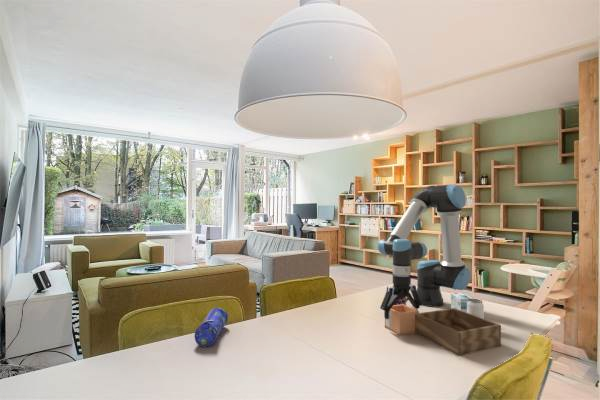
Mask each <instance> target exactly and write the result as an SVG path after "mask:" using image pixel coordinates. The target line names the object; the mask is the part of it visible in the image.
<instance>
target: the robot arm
mask: <svg viewBox="0 0 600 400" xmlns="http://www.w3.org/2000/svg"><path fill="white" fill-rule="evenodd" d="M466 200H467V198H466V194H465V191H464V189H463V188H462V187H461V185H458V184H441V185H429V186H426V187H424V188H422V189H420V190H419V191H418V192H416V194H414V195H413V197H412V198H411V199H410V200H409V203H408V204H409V206H408V207H407V209H406V210H405V212H404V213H403V215H402V216H401V218H400V219H399V220H398V222H397V224H396V225H395V227H394V228H393V230H392V231H391V233H390V234H389V235H388V237H387V238H382V239H380V240H379V242H378V245H377V250H378V252H379V253H380V255H385V256H392V274H393V275H392V284H393V285H392V286H387V287H386V292H385V295H384V297H383V299H382V303H381V304H380V308H379V309H380V310H383V312H384V315H383V317H384V319H385V318H386V326H388V327H391V311H390V309H391V308H392V306H393V305H394V303H395V301H396V300H397V299H398V298H399V297H406V298H407V299H408V301H409V302H410V304H411V305H412V306H410V307H411V308H413V309H415V310H418V311H419V309H420V308H421V306H425V307H442V306H443V305H444V298H443V295H442V292H441V287H442V288H448V289H451V290H455V291H456V290H457V291H463V290H465V289H467V287H468V285H469V284H470V281H471V280H470V279H471V270H470V269H469V267H466V263H465V262H464V261H463V260H462V250H461V249H462V248H461V235H460V221H459V219H460V217H459V214H460V213H461V212H462V208H464V207H465V206H466V202H467V201H466ZM431 208H434V209H436V213H437V214H439V217H440V231H441V232H440V233H441V250H442V261H440V260H437V259H430V260H420V259H423V258H424V257H426V256H427V254H428V248H427V245H426V244H425V243H423V242H422V241H414V242H413V241H411V240H410V239H407V238H408V236H409V235H410V233H411V232H412V231H413V229H414V227H415V226H416V224H417V223H418V221H419V219H420V217H421V216H422V215H423V214H424V213H426V212H427V211H428V209H431ZM412 260H413V261H414V260H420V261H418V262H417V267H416V270H417V271H416V274H417V275H416V276H417V277H416V278H417V279H416V280H417V285H414V284H412V283H411V282H412V281H411V280H412V277H411V276H410V275H412V274H411V271H412V270H411V269H412V267H411V266H412V265H411V263H412ZM393 291H394V292H393ZM392 292H393V293H392ZM395 294H396V295H395Z"/></svg>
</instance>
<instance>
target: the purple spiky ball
mask: <svg viewBox="0 0 600 400" xmlns="http://www.w3.org/2000/svg"><path fill="white" fill-rule="evenodd" d="M393 292H394V291H393ZM393 292H392V293H393ZM395 295H396V294H395ZM408 301H409V300H408V299H407V297H399V298H398V299H397V300H396V301H395V303H394V305H400V304H404V305H406V306H408V305H407V302H408Z"/></svg>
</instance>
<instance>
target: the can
mask: <svg viewBox="0 0 600 400" xmlns="http://www.w3.org/2000/svg"><path fill="white" fill-rule="evenodd" d="M484 310H485V309H484V303H483V300H481V299H477V298H473V299H468V302H467V313H469V314H472V315H475V316H477V317H480V318H483V319H485V318H484V317H485V315H484V314H485V312H484Z"/></svg>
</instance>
